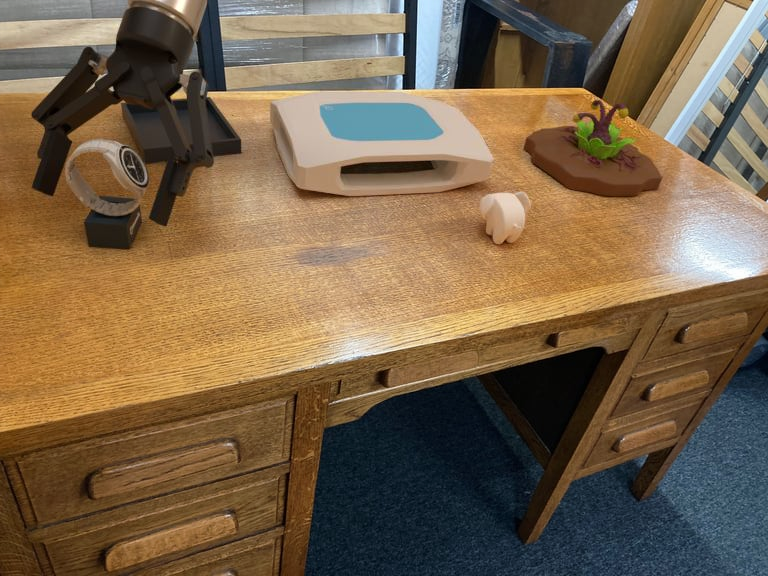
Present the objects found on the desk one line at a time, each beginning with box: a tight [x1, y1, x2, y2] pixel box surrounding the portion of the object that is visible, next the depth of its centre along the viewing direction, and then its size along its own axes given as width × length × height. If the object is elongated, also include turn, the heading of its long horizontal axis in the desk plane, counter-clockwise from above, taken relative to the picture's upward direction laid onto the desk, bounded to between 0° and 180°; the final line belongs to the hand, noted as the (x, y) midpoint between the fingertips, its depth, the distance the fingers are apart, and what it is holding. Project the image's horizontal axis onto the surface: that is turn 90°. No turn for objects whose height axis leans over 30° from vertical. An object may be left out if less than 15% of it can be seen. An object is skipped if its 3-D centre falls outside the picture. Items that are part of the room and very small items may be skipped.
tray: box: [120, 96, 242, 164], centre depth 91 cm, size 15×13×2 cm
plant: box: [523, 99, 663, 197], centre depth 98 cm, size 20×20×11 cm
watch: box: [64, 138, 150, 250], centre depth 67 cm, size 6×8×11 cm
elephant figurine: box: [478, 190, 532, 245], centre depth 79 cm, size 7×8×6 cm
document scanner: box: [269, 90, 495, 197], centre depth 91 cm, size 21×28×6 cm
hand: (99, 207), depth 66 cm, fingers open, 13 cm apart
